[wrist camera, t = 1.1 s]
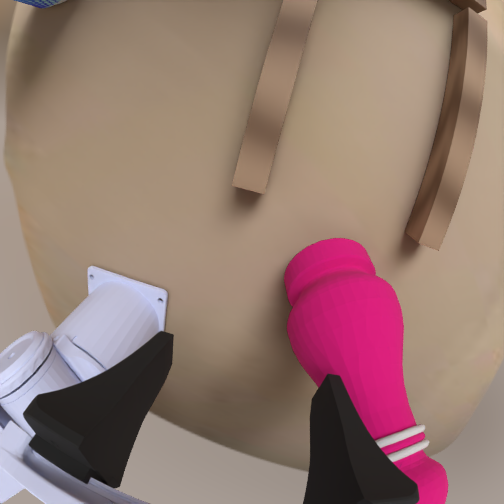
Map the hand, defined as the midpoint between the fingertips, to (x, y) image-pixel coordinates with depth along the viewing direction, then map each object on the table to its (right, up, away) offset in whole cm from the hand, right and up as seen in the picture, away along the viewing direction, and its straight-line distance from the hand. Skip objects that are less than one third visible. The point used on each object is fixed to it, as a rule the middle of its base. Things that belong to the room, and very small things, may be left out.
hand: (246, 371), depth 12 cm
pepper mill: (+5, +4, +8) cm, 10 cm away
